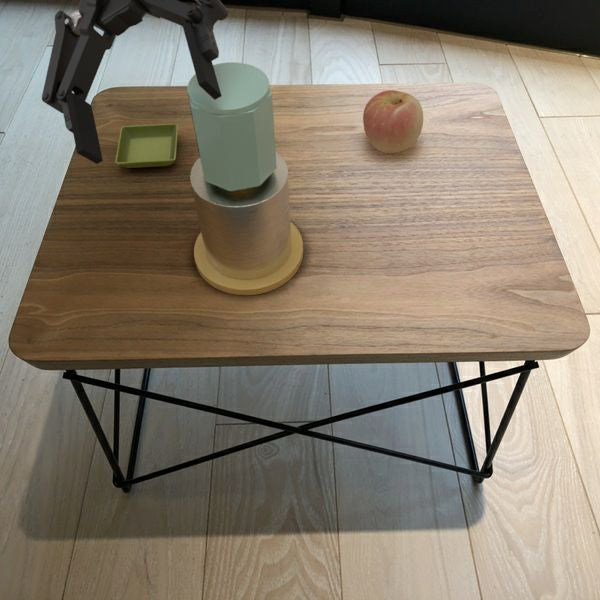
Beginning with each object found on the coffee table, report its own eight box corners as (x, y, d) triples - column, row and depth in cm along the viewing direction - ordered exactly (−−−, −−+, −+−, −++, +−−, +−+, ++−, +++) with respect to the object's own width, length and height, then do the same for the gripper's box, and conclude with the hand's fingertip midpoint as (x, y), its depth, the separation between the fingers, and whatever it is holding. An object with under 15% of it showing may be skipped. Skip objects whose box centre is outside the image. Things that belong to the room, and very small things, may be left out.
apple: (363, 163, 90) (367, 117, 83) (359, 126, 95) (362, 80, 89) (422, 162, 90) (431, 116, 83) (415, 124, 95) (422, 78, 89)
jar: (187, 173, 67) (170, 93, 59) (229, 133, 71) (219, 54, 63) (247, 199, 65) (238, 119, 57) (288, 156, 69) (284, 76, 61)
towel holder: (173, 267, 78) (127, 106, 59) (235, 201, 85) (213, 38, 66) (264, 312, 74) (247, 153, 55) (323, 238, 81) (325, 75, 62)
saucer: (181, 133, 95) (178, 122, 93) (178, 171, 89) (175, 160, 88) (124, 137, 94) (120, 126, 93) (118, 174, 89) (114, 163, 87)
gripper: (228, -89, 62) (284, 82, 56) (42, 32, 69) (72, 194, 63) (187, -152, 55) (245, 35, 49) (-15, -10, 63) (14, 167, 56)
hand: (148, 125), depth 56 cm, fingers open, 13 cm apart
